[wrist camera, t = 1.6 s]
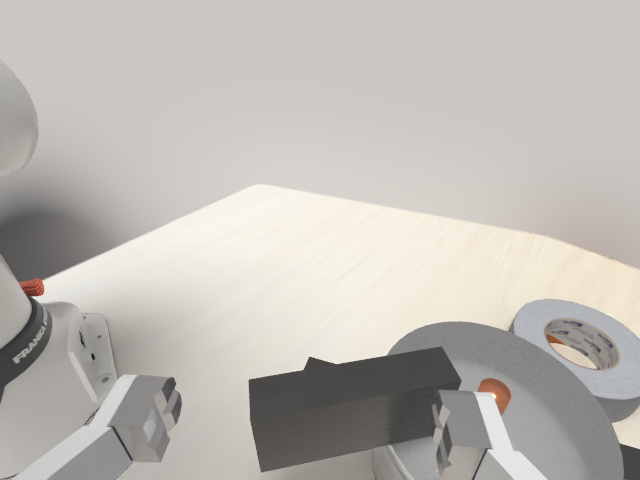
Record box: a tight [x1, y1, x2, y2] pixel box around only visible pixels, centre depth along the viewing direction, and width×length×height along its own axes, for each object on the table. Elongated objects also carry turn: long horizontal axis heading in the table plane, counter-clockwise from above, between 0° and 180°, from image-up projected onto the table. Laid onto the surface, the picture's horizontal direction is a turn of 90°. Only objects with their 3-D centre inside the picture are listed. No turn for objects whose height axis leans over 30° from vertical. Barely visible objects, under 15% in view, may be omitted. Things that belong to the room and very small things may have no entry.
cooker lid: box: [249, 322, 624, 480], centre depth 29 cm, size 29×19×8 cm, turn 101°
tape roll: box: [508, 299, 640, 423], centre depth 46 cm, size 15×15×5 cm
